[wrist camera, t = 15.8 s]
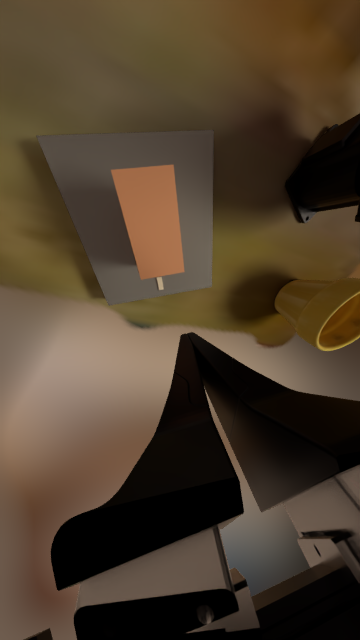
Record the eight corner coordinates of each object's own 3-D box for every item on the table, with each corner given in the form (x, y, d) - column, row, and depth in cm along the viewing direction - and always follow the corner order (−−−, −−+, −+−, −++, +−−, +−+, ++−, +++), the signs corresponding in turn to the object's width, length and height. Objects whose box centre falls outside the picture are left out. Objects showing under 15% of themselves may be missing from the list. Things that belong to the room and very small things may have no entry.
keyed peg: (168, 258, 19) (184, 272, 11) (143, 263, 18) (140, 279, 11) (160, 201, 15) (173, 164, 8) (128, 205, 15) (110, 169, 7)
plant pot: (259, 291, 24) (317, 317, 16) (314, 255, 23) (407, 264, 15) (269, 328, 30) (317, 362, 21) (314, 301, 28) (382, 326, 20)
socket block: (203, 146, 14) (214, 128, 12) (205, 282, 21) (212, 287, 19) (55, 153, 12) (34, 134, 10) (112, 298, 20) (108, 306, 17)
